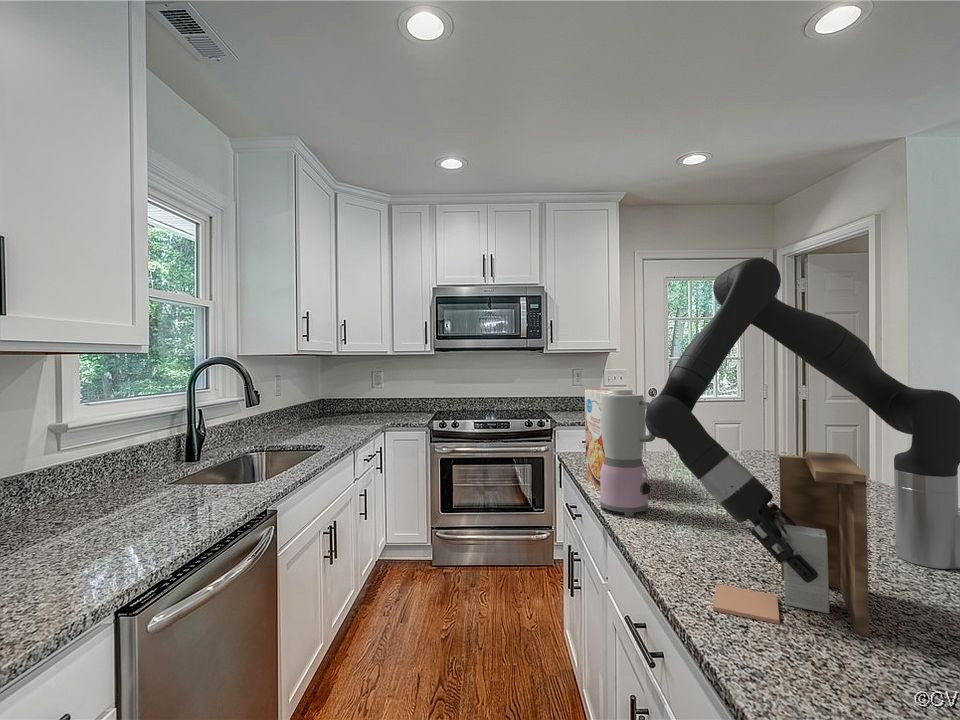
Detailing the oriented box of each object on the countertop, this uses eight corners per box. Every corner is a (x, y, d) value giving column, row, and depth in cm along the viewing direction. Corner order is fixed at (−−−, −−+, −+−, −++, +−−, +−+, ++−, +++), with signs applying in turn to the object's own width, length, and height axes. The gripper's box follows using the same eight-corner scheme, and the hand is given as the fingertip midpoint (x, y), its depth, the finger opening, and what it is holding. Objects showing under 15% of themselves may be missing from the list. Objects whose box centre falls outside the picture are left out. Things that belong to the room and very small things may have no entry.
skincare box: (828, 603, 80) (826, 529, 80) (829, 615, 76) (828, 537, 76) (784, 594, 83) (782, 523, 83) (783, 605, 79) (782, 530, 79)
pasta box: (586, 477, 168) (584, 389, 168) (609, 477, 168) (608, 389, 168) (605, 496, 145) (603, 394, 145) (632, 495, 145) (630, 393, 145)
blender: (590, 509, 132) (588, 390, 132) (616, 500, 140) (614, 387, 140) (644, 523, 120) (642, 392, 120) (669, 512, 128) (667, 389, 128)
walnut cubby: (848, 586, 85) (846, 453, 85) (869, 636, 70) (866, 474, 70) (781, 575, 90) (778, 449, 90) (786, 619, 75) (783, 468, 75)
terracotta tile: (777, 598, 82) (777, 595, 82) (779, 624, 74) (779, 620, 74) (716, 587, 86) (716, 583, 86) (713, 610, 78) (713, 606, 78)
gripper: (744, 483, 79) (834, 573, 72) (758, 467, 90) (836, 543, 83) (708, 510, 82) (791, 599, 75) (726, 492, 93) (799, 567, 86)
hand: (815, 569), depth 79 cm, fingers open, 8 cm apart
